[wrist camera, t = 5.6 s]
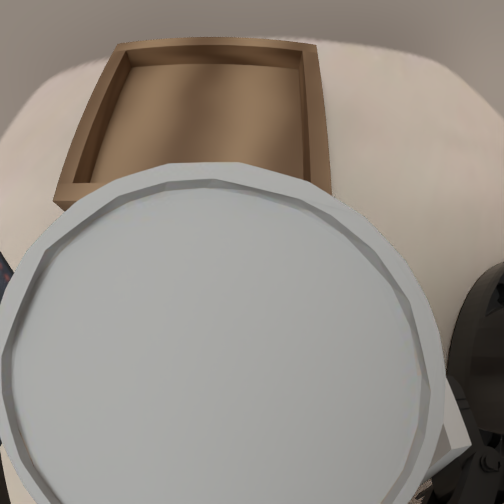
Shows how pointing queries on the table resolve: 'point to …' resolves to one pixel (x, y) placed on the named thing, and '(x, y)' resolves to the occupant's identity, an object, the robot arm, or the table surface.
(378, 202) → the table surface
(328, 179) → the tray
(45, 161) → the table surface
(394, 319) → the disposable coffee cup
